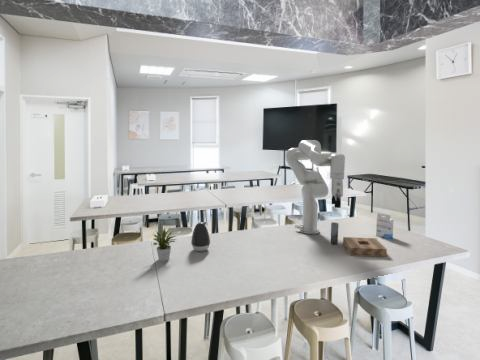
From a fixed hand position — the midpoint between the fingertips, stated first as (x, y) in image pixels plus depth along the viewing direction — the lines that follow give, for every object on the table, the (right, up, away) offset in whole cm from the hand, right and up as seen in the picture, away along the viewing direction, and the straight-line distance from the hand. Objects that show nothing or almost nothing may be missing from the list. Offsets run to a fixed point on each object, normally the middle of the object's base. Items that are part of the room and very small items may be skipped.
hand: (335, 205), depth 177 cm
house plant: (-93, -26, -22) cm, 99 cm away
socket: (+13, -23, -8) cm, 28 cm away
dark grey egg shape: (-76, -24, -7) cm, 80 cm away
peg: (0, -22, +3) cm, 22 cm away
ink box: (+35, -21, +15) cm, 43 cm away
